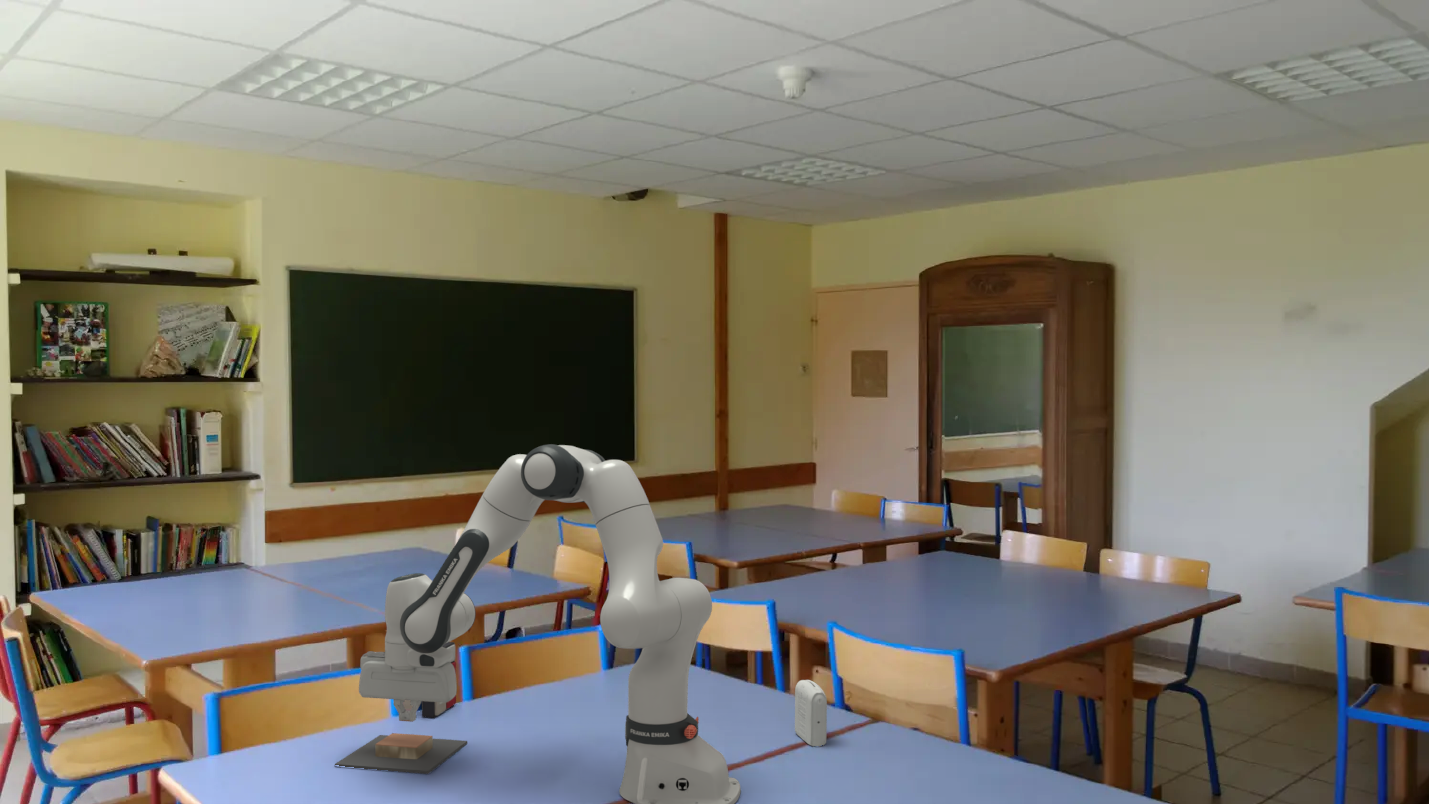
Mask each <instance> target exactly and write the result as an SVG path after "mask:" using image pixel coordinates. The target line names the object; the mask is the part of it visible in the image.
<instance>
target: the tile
mask: <svg viewBox="0 0 1429 804" xmlns="http://www.w3.org/2000/svg"><path fill="white" fill-rule="evenodd" d="M433 739H434V738H433V735H425V734H424V735H423V734H413V733H411V734H409V733H397V732H396V733H393V732H392V733H390V734H389V736H387V737H386V738H384V739H383V740H381V741H380V742H378V743H376V744H375V751H376V757H390V758H404V759H418V758H419V757H421V756H422V755H423V754H425V753H426V752H428V751H429V750H430V749H432V748H433Z"/></svg>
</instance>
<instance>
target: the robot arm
mask: <svg viewBox="0 0 1429 804" xmlns="http://www.w3.org/2000/svg"><path fill="white" fill-rule="evenodd" d="M544 501H557V502H559V503H560V502H561V503H566V504H567V503H568V504H569V503H585V504H586V505H587V507H588V509H589V511H590V513H591V516H592V520H593V521H594V525H595V528H596V531H597V533H598V536H599V539H600V542H601V545H602V548H603V551H604V554H605V558H606V562H607V567H608V578H609V579H608V580H609V584H608V594H607V597H606V600H605V601H604V604H603V606H602V608H601V610H600V615H599V616H600V618H599V621H600V627H601V630H602V633H603V635H604V637H605V639H606V640H607V641H608V642H609V644H611V645H612V646H614V647H616V648H618V649H619V648H620V649H642V650H641V652H640V655H639V657H638V658H637V660H636V662H635V663H634V664H633V666H632V667H631V669H630V671H629V673H628V680H627V681H628V683H627V685H628V689H627V690H628V691H627V692H628V693H627V695H628V698H627V699H628V701H627V703H628V705H627V706H628V707H627V708H628V711H627V712H628V713H627V714H626V716H625V722H624V723H625V726H624V737H625V745H626V756H625V757H626V758H625V765H624V771H623V776H622V779H621V780H622V781H621V784H620V787H619V791H618V792H619V795H620V796H621V797H622V798H623V799H624V800H627V801H629V802H631V803H633V804H736V802H737V801H738V800H739V798H740V796H741V791H742V790H741V789H742V788H741V784H740V782H739V780H738V779H737V778H735V777H731V776H730V774H729V770H728V764H727V760H726V758H725V756H724V755H723V753H722V752H721V751H719V750H717V749H716V748H715V747H714V746H713V745H711V744H710V743H708V742H707V741H706V740H705V739H703V738H702V737H701V736H700V735H699V723H700V722H699V721H700V720H699V716H697V717H695V718H694V717H693V716H692V715H691V714H689V713H688V702H689V700H688V698H689V697H688V695H689V692H688V691H689V673H690V667H691V662H692V657H693V654H694V652H695V651H694V650H695V647H696V644H697V641H698V638H699V635H700V634H701V632H702V629H703V628H704V626H705V625H706V623H707V622H708V621H709V619H710V618H711V614H712V611H713V602H712V601H713V600H712V596H711V594H710V592H709V589H708V588H707V587H706V586H705V584H704V583H702V582H701V581H699V580H698V579H695V578H689V577H688V578H686V577H672V578H669V579H667V578H666V579H663V580H660V578H659V575H658V556H659V555H660V554H661V552H662V551H663V547H664V539H663V536H662V535H661V534H662V533H661V531H660V529H659V528H660V527H659V525H658V523H657V520H656V517H655V514H654V511H653V510H652V507H651V503H650V502H649V498H648V497H647V495H646V492H645V489H644V488H643V486H642V484H641V482H640V480H639V479H638V476H637V475H636V473H635V471H634V470H633V468H632V467H631V465H630V464H628V463H627V462H626V461H623V460H621V459H607V460H605V458H604V457H603V456H602V455H600V454H599V453H597V452H595V451H593V450H591V449H583V448H580V447H576V446H574V445H565V444H559V445H557V444H554V443H553V444H552V443H551V444H549V443H548V444H543V445H540V446H538V447H535V448H533V449H532V450H530V451H529V452H528V453H527V454H521V453H519V454H518V453H517V454H515V455H511V456H510V457H508V458H507V459H506V461H504V463H503V464H502V465H501V466H500V467H499V469H498V470H497V471H496V472H495V474H494V476H493V477H492V478H491V480H490V482H489V483H488V484H487V486H486V488H485V489H484V490H483V493H482V494H481V496H480V498H479V500H478V502H477V504H476V506H475V508H474V510H473V512H472V513H471V515H470V518H469V519H468V521H467V523H466V525H465V527H464V529H463V531H462V532H461V534H460V536H459V537H458V539H457V542H456V543H455V544H454V547H453V548H452V550H451V551H450V552H449V554H448V556H446V558H445V560H444V562H443V563H442V565H441V566H440V569H438V571H437V573H436V575H435V576H434V578H433V579H431V578H430V577H429V576H428V575H427V574H426V573H423V572H422V573H421V572H418V573H417V572H416V573H415V572H414V573H409V574H406V575H402V576H398V577H396V578H394V579H392V580H391V581H390V582H389V583H388V585H387V588H386V595H385V602H384V603H385V605H384V619H385V623H386V633H385V636H384V651H373V650H372V651H367V652H366V653H363V654H362V656H361V657H360V665H359V666H360V674H359V675H360V676H359V683H358V693H359V694H360V697H362V698H367V699H383V700H384V699H386V700H393V706H394V707H395V709H396V711H397V713H398V721H400V722H409V723H410V722H415V721H416V719H417V711H418V710H419V707H420V706H421V705H422V701H429V702H444V703H446V702H449V701H450V700H452V699H453V698H454V697H455V695H456V696H457V690H458V689H457V686H458V685H457V672H456V673H455V668H454V666H453V665H452V664H451V663H450V662H449V661H450V660H452V658H453V653H452V651H451V650H449V649H447V648H444V647H442V646H443V645H445V644H446V643H448V642H453V640H456V639H457V638H458V637H460V636H463V635H464V634H465V633H467V632H468V631H469V630H470V629H471V628H472V627H473V625H474V623H475V621H476V606H475V604H474V602H473V600H472V599H471V597H470V596H469V595H468V594H466V593H465V592H466V590H467V589H468V587H469V585H470V584H471V583H472V580H473V579H474V577H475V576H476V575H477V573H478V572H479V571H480V570H481V569H482V568H483V567H484V566H485V565H487V564H488V563H489V562H491V561H492V560H493V559H495V558H497V557H498V556H500V555H501V554H503V553H504V552H506V551H508V550H510V549H511V548H512V547H514V546H515V545H516V543H517V542H518V541H519V539H521V537H522V536H524V535H523V534H525V532H526V530H527V529H528V527H529V526H530V524H531V522H532V521H533V518H534V517H535V515H536V513H537V511H538V509H539V507H540V506H541V504H542V503H543V502H544ZM405 701H409V702H410V706H412V707H411V708H410V710H406V707H405V706H404V702H405Z"/></svg>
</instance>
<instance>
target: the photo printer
mask: <svg viewBox="0 0 1429 804" xmlns="http://www.w3.org/2000/svg"><path fill="white" fill-rule="evenodd" d="M794 689H795V690H794V733H795V734H796V735H797V736H798V737H800V739H801V740H803V741H804V742H805V743H806V744H808V745H809V746H812V747H814V746H819V747H822V746H821V745H823V746H825V745H826V744H827V732H828V730H827V722H828V721H827V720H828V719H827V718H828V716H827V714H828V712H827V710H828V703H827V702H828V701H827V700H828V698H827V696H826V694H825V691H824V690H823V689H822V687H821V686H820V685H819V684H817V683H816V682H814V681H812V680H810V679H801V680H799V681H798V682H796V685H795V688H794Z"/></svg>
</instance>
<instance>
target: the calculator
mask: <svg viewBox="0 0 1429 804" xmlns="http://www.w3.org/2000/svg"><path fill="white" fill-rule="evenodd" d="M442 647H444V648H447V649H449V650H451V651H452V653H453V658H452V660H450V661H449V662H450V663H451V664H452V665H453V666H454V668H455V673H456V674H457V662H456V644H455V642H453V641H450V642H448V643H446V644H445V645H443V646H442ZM456 704H457V694H456V695H455V697H454V698H453V699H452V700H450V701H449V702H446V703H444V702H429V701H421V716H422V718H425V719H427V718H428V719H434V718H437V717H438V716H439V715H441V714H443V713H444V712H445V711H447V710H449V709H450V708H452V707H453V706H455V705H456ZM448 708H449V709H448Z"/></svg>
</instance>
